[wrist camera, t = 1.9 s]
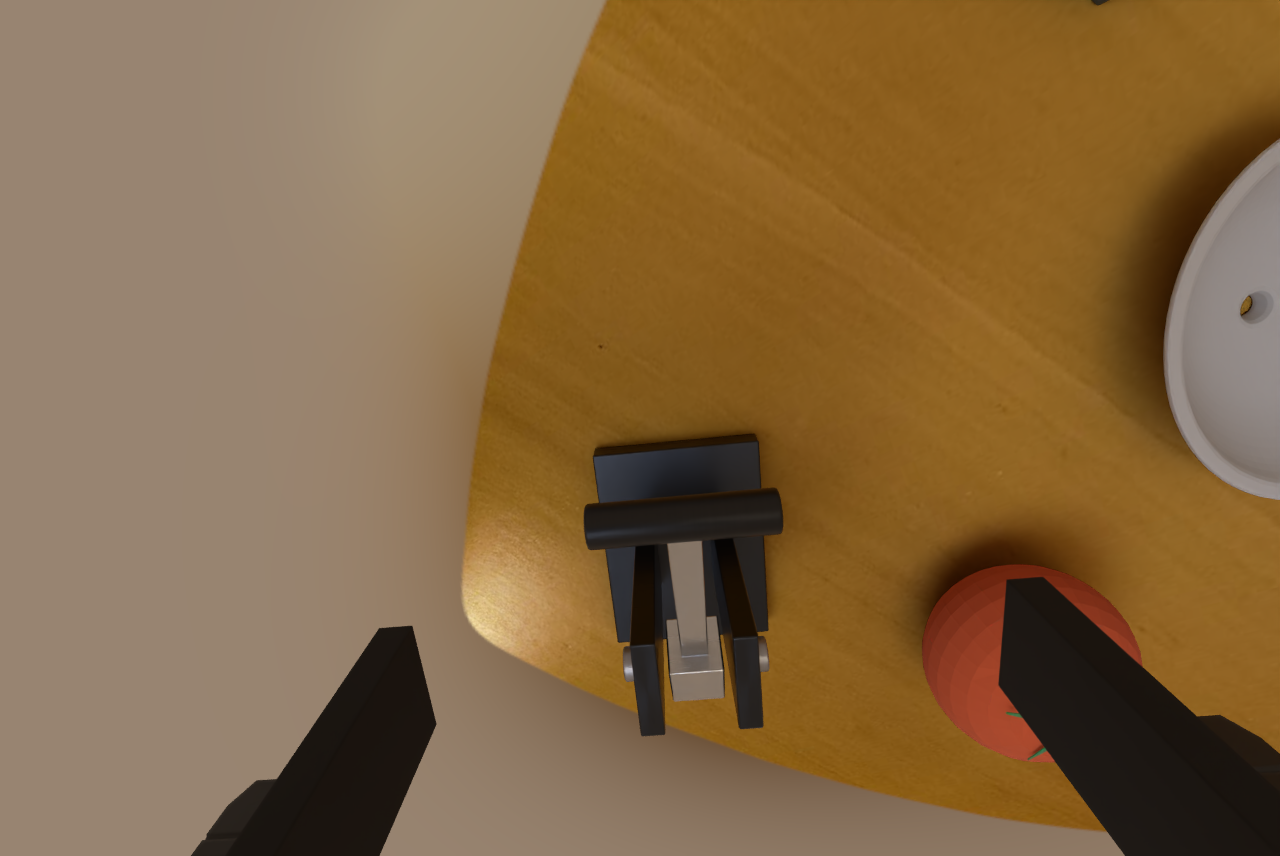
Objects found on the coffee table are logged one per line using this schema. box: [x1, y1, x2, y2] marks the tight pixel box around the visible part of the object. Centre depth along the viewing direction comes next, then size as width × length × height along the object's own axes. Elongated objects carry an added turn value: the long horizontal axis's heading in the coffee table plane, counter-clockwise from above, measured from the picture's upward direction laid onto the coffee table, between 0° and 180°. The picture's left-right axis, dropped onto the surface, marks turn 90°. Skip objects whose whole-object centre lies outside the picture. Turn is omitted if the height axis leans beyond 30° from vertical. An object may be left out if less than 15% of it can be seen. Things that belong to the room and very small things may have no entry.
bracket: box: [593, 434, 769, 736], centre depth 31 cm, size 12×9×13 cm
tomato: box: [922, 564, 1142, 762], centre depth 34 cm, size 10×10×10 cm
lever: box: [584, 488, 783, 701], centre depth 24 cm, size 12×6×2 cm, turn 6°
